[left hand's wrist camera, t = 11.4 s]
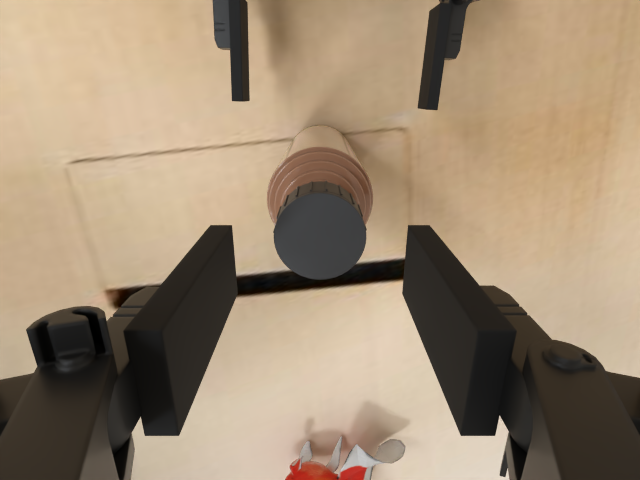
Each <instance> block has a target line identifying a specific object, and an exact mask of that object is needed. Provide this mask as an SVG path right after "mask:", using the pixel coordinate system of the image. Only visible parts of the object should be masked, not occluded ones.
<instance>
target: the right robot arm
mask: <svg viewBox="0 0 640 480" xmlns="http://www.w3.org/2000/svg"><path fill="white" fill-rule="evenodd" d="M439 1H440V4H439V5H437V6H436V7H435V8H433V9H432V10H431V11H430V12H429V20H428V28H427V36H426V45H425V53H424V61H423V69H422V77H421V85H420V93H419V101H418V108H420V109H426V110H437V109H438V102H439V95H440V88H441V81H442V73H443V66H444V60H452V59H456V57H457V55H458V53H459V51H460V46H461V40H462V33H463V26H464V20H465V13H466V9H467V7H468V5H469V4H470V3H472V2H474V1H479V0H439ZM213 15H214V36H215V41H216V44H217V46H218V48H220V49H222V50H230V57H231V85H232V101H249V56H248V8H247V1H246V0H213Z"/></svg>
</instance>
